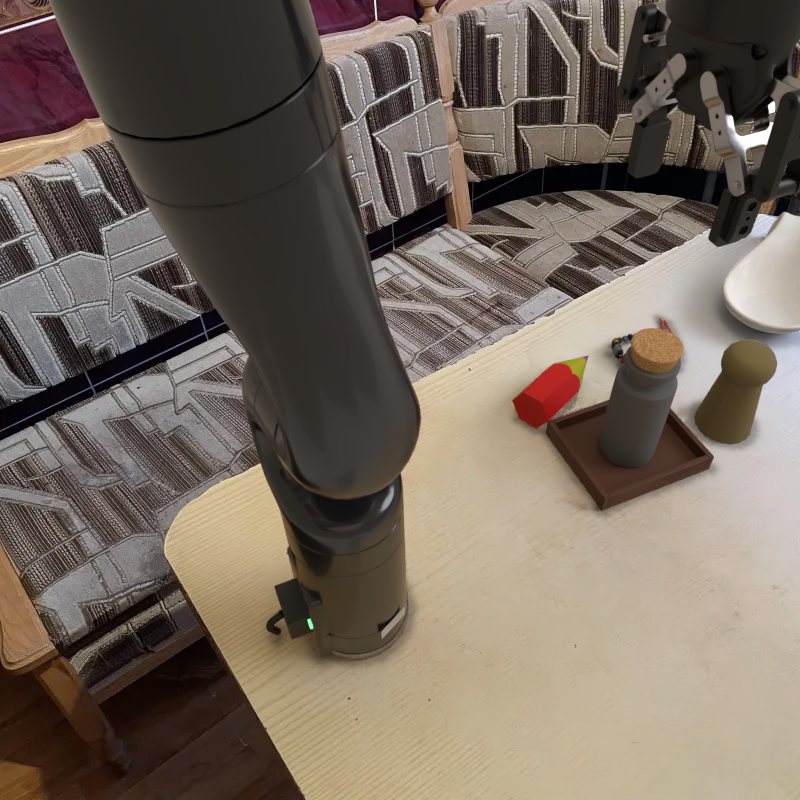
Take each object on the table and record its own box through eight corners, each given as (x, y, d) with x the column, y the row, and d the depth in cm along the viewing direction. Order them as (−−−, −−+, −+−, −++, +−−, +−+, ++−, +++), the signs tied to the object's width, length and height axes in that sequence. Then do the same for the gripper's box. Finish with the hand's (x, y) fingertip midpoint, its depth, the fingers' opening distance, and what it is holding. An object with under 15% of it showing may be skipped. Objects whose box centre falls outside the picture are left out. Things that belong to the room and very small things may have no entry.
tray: (601, 511, 76) (605, 499, 75) (544, 433, 83) (547, 420, 82) (709, 469, 79) (714, 456, 78) (645, 397, 86) (650, 384, 85)
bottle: (654, 472, 78) (692, 370, 67) (597, 464, 79) (625, 362, 68) (653, 430, 82) (688, 327, 71) (598, 423, 83) (625, 320, 72)
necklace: (598, 357, 91) (602, 345, 89) (643, 317, 97) (648, 304, 96) (659, 390, 87) (664, 377, 86) (701, 346, 93) (706, 333, 92)
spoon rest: (809, 358, 90) (832, 312, 85) (706, 332, 94) (722, 286, 88) (826, 250, 104) (846, 205, 99) (737, 232, 108) (752, 187, 103)
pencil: (603, 377, 89) (610, 351, 86) (545, 434, 83) (551, 408, 80) (568, 359, 91) (574, 333, 88) (509, 413, 85) (513, 386, 82)
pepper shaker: (729, 397, 86) (761, 324, 78) (762, 435, 82) (799, 363, 74) (683, 410, 85) (710, 338, 77) (714, 450, 81) (746, 378, 73)
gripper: (616, -106, 41) (573, 166, 53) (809, -22, 32) (704, 284, 44) (730, -125, 42) (663, 143, 54) (943, -50, 33) (807, 251, 45)
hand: (681, 205), depth 49 cm, fingers open, 8 cm apart
